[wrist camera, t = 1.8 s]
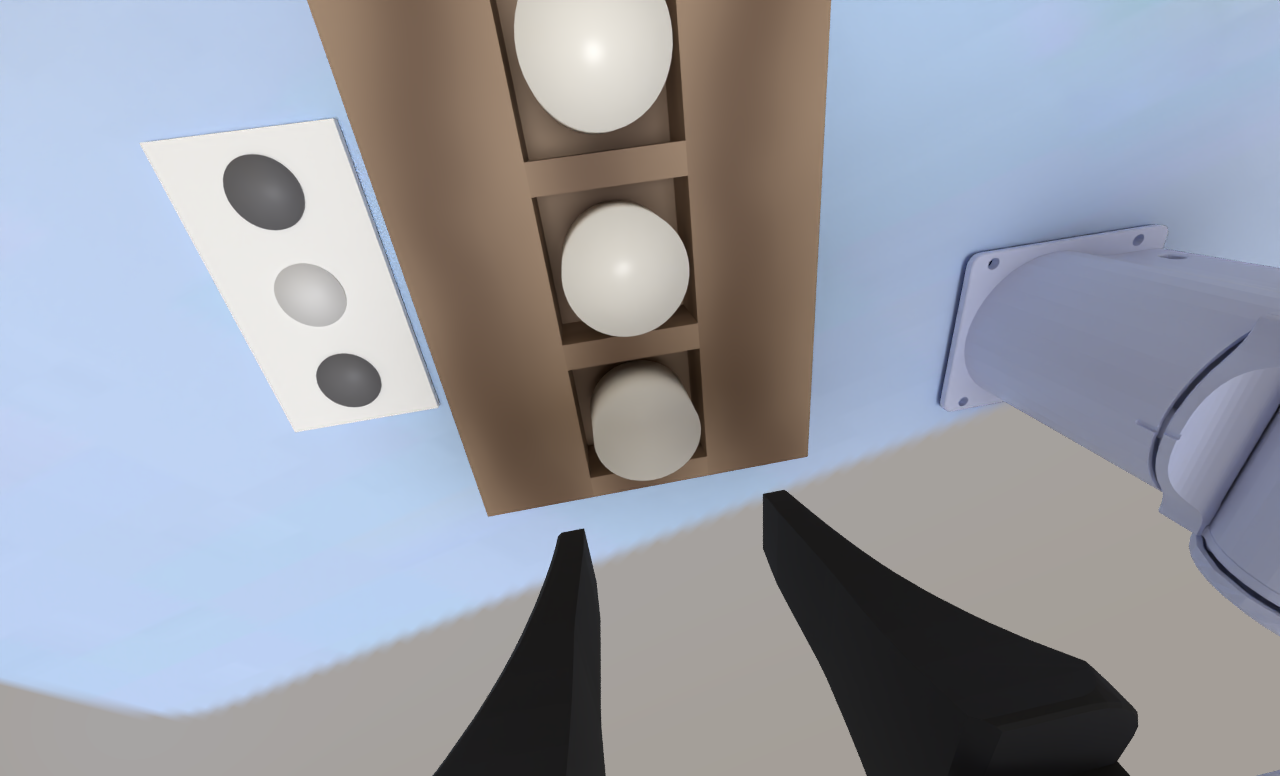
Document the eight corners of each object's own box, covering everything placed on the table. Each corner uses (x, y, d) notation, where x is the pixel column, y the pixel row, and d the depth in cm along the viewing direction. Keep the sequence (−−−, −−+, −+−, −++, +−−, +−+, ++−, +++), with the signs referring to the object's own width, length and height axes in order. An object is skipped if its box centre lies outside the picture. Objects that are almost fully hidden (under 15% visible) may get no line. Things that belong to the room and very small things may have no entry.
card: (336, 118, 16) (331, 118, 16) (440, 404, 21) (437, 408, 21) (147, 143, 16) (136, 142, 15) (298, 428, 21) (294, 433, 20)
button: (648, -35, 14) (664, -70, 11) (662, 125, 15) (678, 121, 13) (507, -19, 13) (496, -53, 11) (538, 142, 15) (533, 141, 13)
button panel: (787, -89, 15) (838, -143, 12) (778, 419, 24) (807, 456, 21) (333, -41, 14) (275, -89, 11) (497, 471, 23) (488, 516, 20)
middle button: (668, 191, 16) (684, 198, 14) (677, 304, 18) (693, 326, 16) (551, 208, 16) (549, 218, 14) (573, 321, 18) (574, 345, 16)
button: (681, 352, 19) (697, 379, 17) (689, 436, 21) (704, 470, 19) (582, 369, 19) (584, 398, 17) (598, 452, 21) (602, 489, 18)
